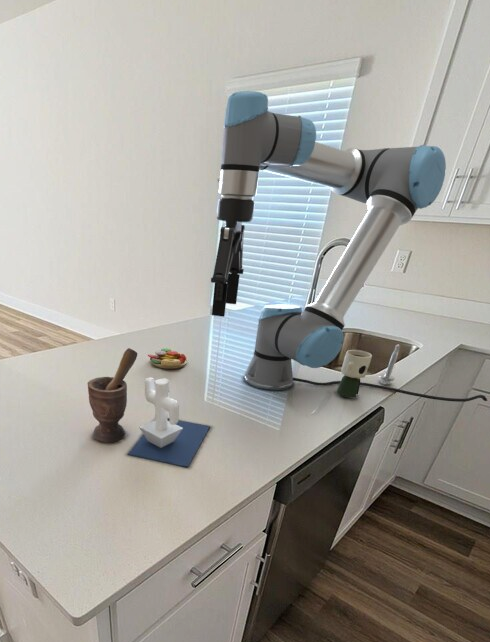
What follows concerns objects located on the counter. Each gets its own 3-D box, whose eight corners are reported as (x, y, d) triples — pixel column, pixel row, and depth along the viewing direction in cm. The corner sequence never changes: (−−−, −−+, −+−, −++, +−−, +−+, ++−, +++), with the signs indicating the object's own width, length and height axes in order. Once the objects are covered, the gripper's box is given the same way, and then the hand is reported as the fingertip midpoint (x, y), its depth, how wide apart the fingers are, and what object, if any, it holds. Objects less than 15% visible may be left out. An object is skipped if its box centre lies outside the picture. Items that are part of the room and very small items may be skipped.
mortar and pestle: (116, 419, 104) (112, 340, 92) (142, 429, 100) (142, 348, 88) (84, 436, 96) (76, 353, 84) (112, 448, 92) (107, 362, 80)
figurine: (164, 454, 90) (166, 391, 82) (135, 439, 95) (134, 378, 87) (185, 443, 95) (189, 382, 86) (157, 429, 100) (158, 370, 91)
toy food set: (173, 373, 132) (173, 363, 130) (140, 364, 137) (140, 355, 136) (193, 362, 142) (194, 353, 140) (162, 354, 147) (162, 345, 145)
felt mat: (209, 427, 103) (209, 426, 102) (187, 467, 87) (187, 466, 87) (158, 417, 106) (158, 416, 105) (127, 454, 90) (127, 453, 90)
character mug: (349, 404, 119) (363, 360, 111) (327, 396, 122) (339, 353, 115) (365, 394, 125) (379, 352, 118) (343, 387, 129) (355, 346, 121)
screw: (378, 385, 132) (375, 379, 136) (393, 387, 131) (390, 381, 135) (392, 345, 125) (389, 341, 128) (409, 347, 124) (405, 342, 128)
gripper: (230, 197, 92) (220, 297, 104) (203, 196, 72) (194, 319, 85) (263, 199, 90) (249, 300, 103) (244, 198, 71) (229, 323, 83)
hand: (224, 309), depth 94 cm, fingers open, 13 cm apart
